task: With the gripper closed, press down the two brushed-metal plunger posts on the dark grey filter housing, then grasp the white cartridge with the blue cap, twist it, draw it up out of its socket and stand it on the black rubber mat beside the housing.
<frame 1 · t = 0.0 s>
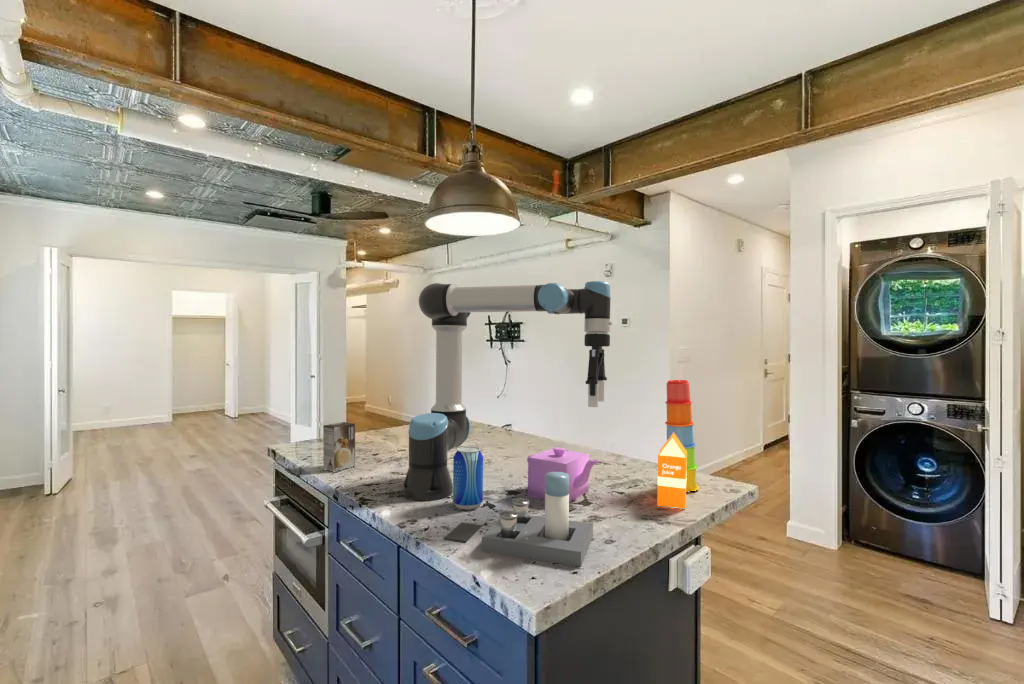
hand: (596, 404, 141), 28 cm above the counter, fingers open, 13 cm apart
housing: (539, 545, 108), on the counter
stacking cups: (681, 488, 151), on the counter
cartridge: (556, 545, 107), resting on housing
orange juice: (672, 503, 137), on the counter
mat: (471, 534, 114), on the counter
teapot: (561, 495, 144), on the counter
coffee box: (339, 469, 170), on the counter
plunger far: (520, 510, 114), point 6 cm above the counter, slide at 0.0 cm
plunger near: (508, 523, 106), point 6 cm above the counter, slide at 0.0 cm
beer can: (467, 506, 134), on the counter
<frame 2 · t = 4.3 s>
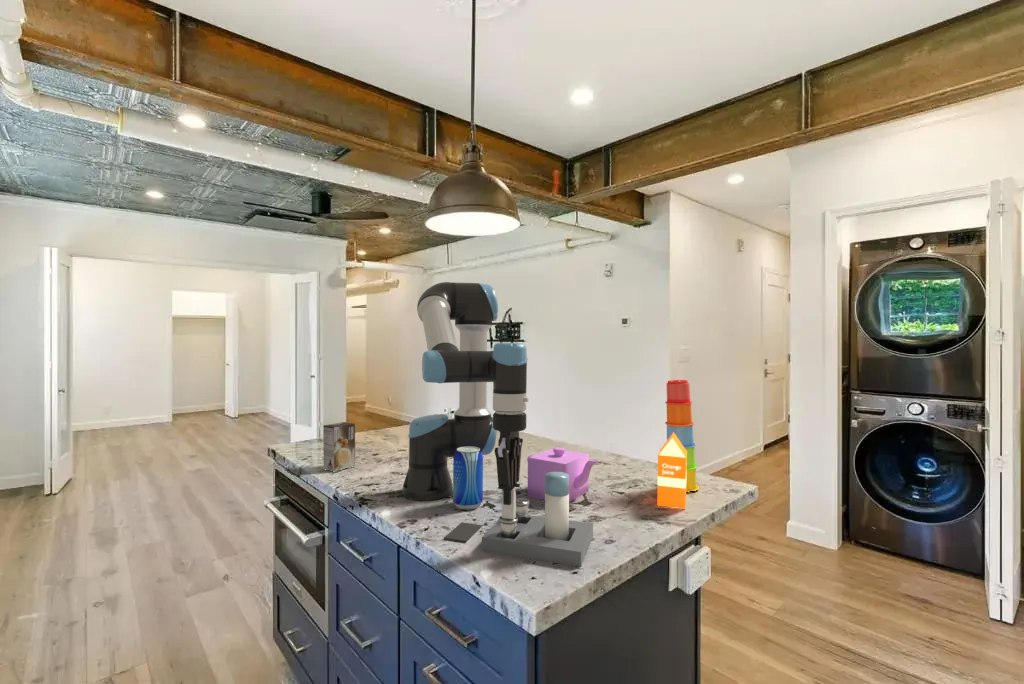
hand: (508, 517, 105), 7 cm above the counter, fingers closed
plunger near: (508, 528, 106), point 5 cm above the counter, slide at 1.0 cm, touching gripper
everything else where it was.
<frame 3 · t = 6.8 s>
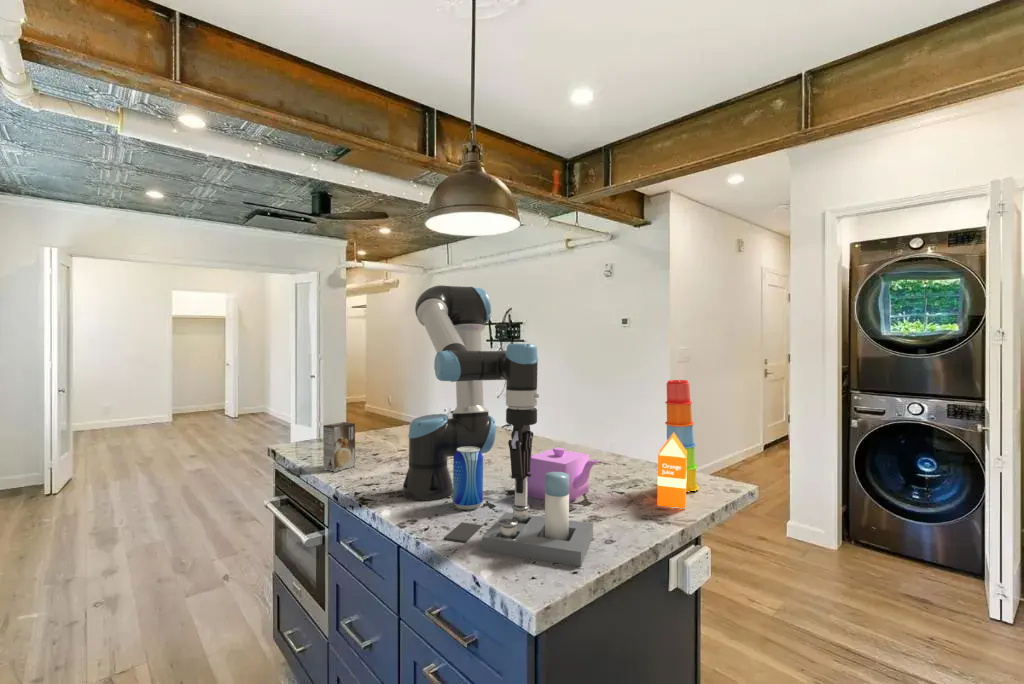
hand: (521, 504, 114), 7 cm above the counter, fingers closed
plunger far: (520, 514, 114), point 5 cm above the counter, slide at 1.1 cm, touching gripper
plunger near: (508, 531, 106), point 4 cm above the counter, slide at 1.8 cm
everything else where it was.
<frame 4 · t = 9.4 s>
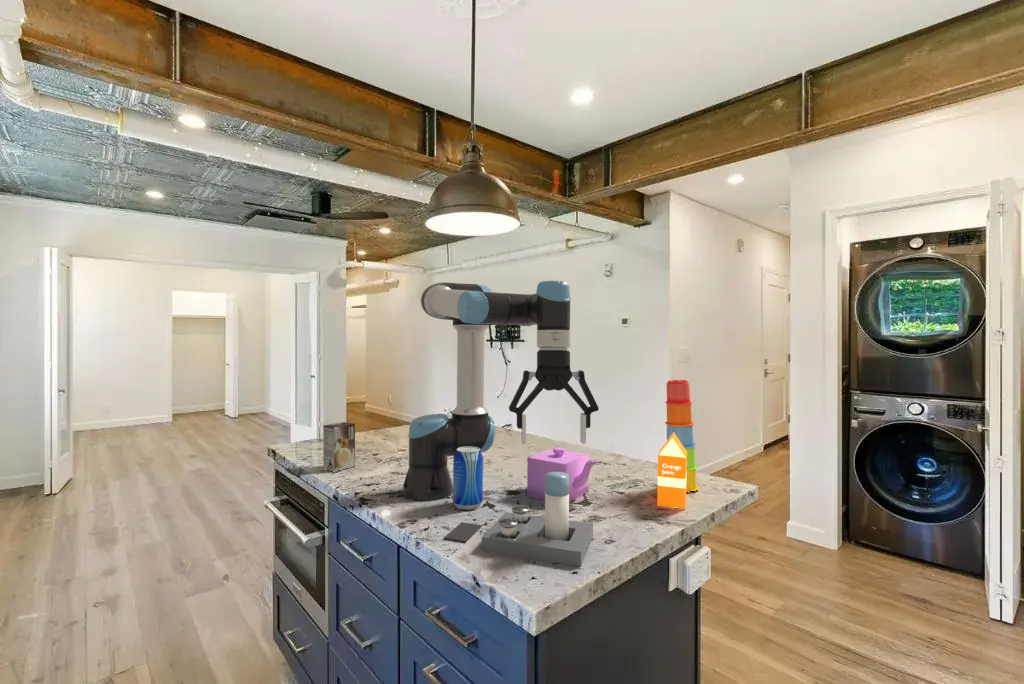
hand: (553, 442, 107), 24 cm above the counter, fingers open, 13 cm apart
plunger far: (520, 517, 114), point 4 cm above the counter, slide at 1.8 cm
everything else where it was.
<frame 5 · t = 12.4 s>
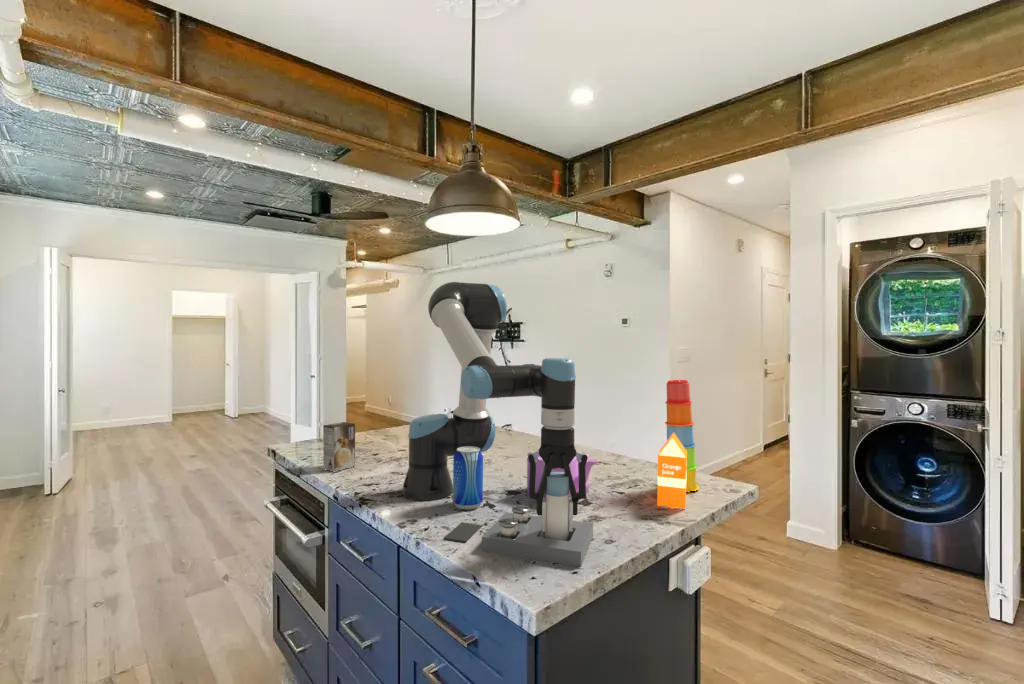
hand: (556, 528, 107), 4 cm above the counter, fingers closed on cartridge, 5 cm apart
cartridge: (556, 545, 107), resting on housing, touching gripper
everything else where it was.
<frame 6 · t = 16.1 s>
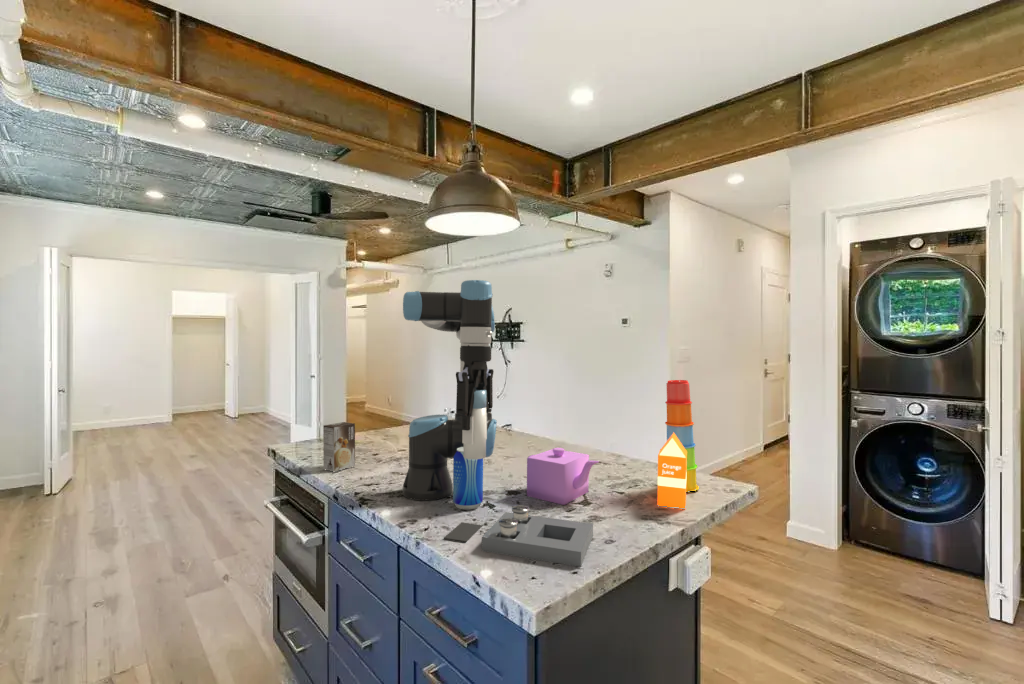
hand: (474, 440, 114), 22 cm above the counter, fingers closed on cartridge, 5 cm apart
cartridge: (474, 456, 114), point 19 cm above the counter, touching gripper
everything else where it was.
when the fingers open (5 cm above the counter, at t = 19.8 s): cartridge stays where it is, resting on mat.
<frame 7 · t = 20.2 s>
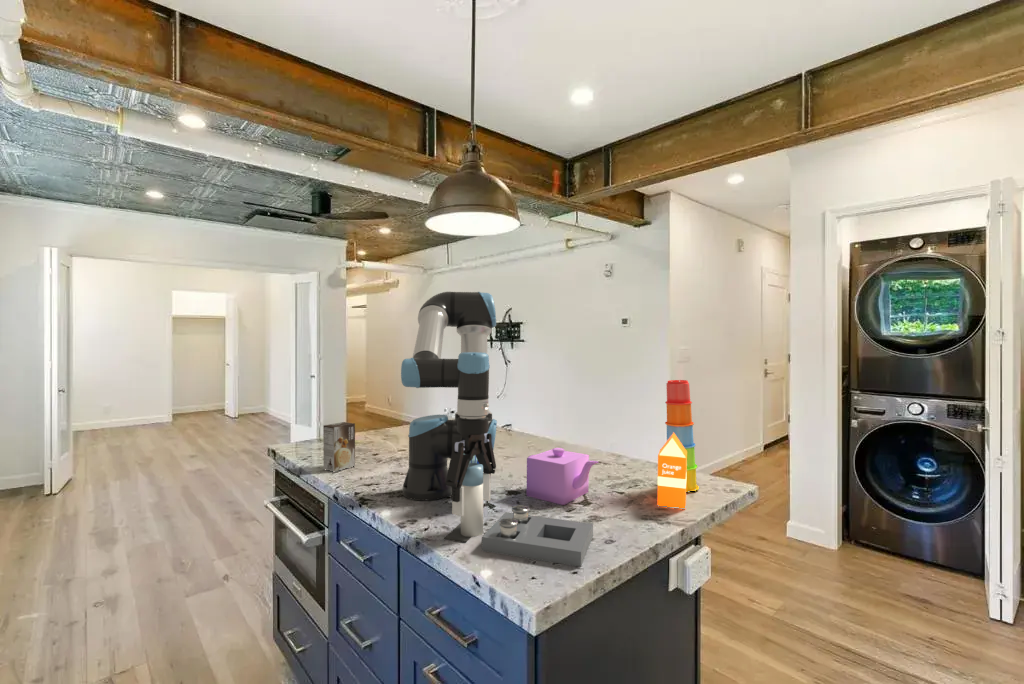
hand: (472, 506, 114), 7 cm above the counter, fingers open, 11 cm apart
cartridge: (471, 532, 114), resting on mat
everything else where it was.
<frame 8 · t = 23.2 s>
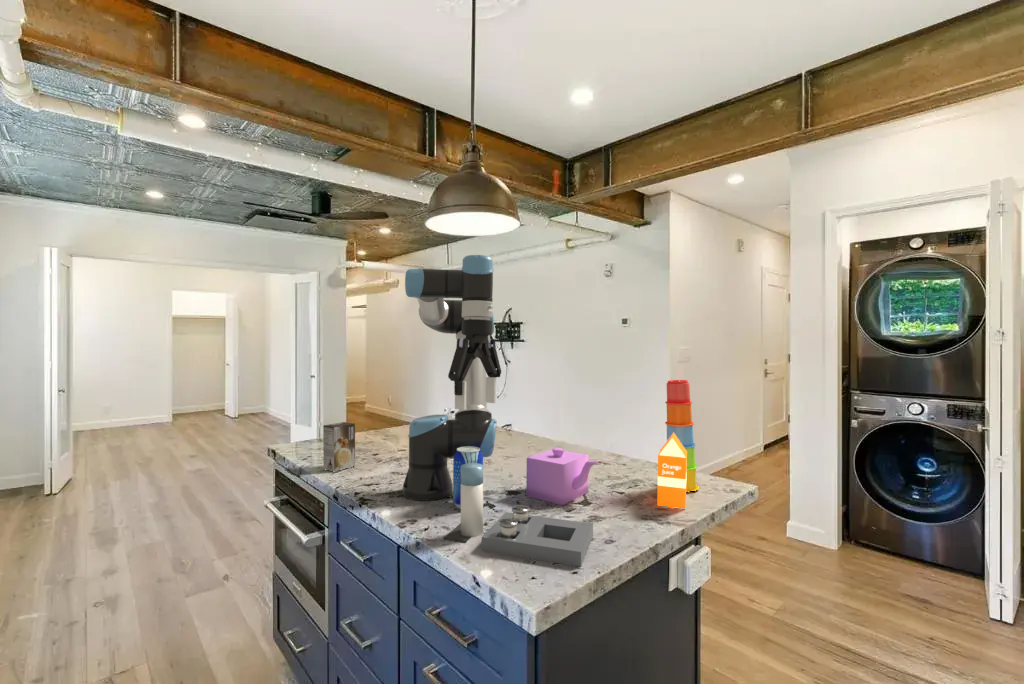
hand: (476, 405, 116), 31 cm above the counter, fingers open, 13 cm apart
nothing on the counter moved.
at the end: cartridge inside the target area on the mat (0.1 cm from its centre), point 0.4 cm above the mat's base; cartridge tilted 1°; plunger near slide at 1.8 cm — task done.
